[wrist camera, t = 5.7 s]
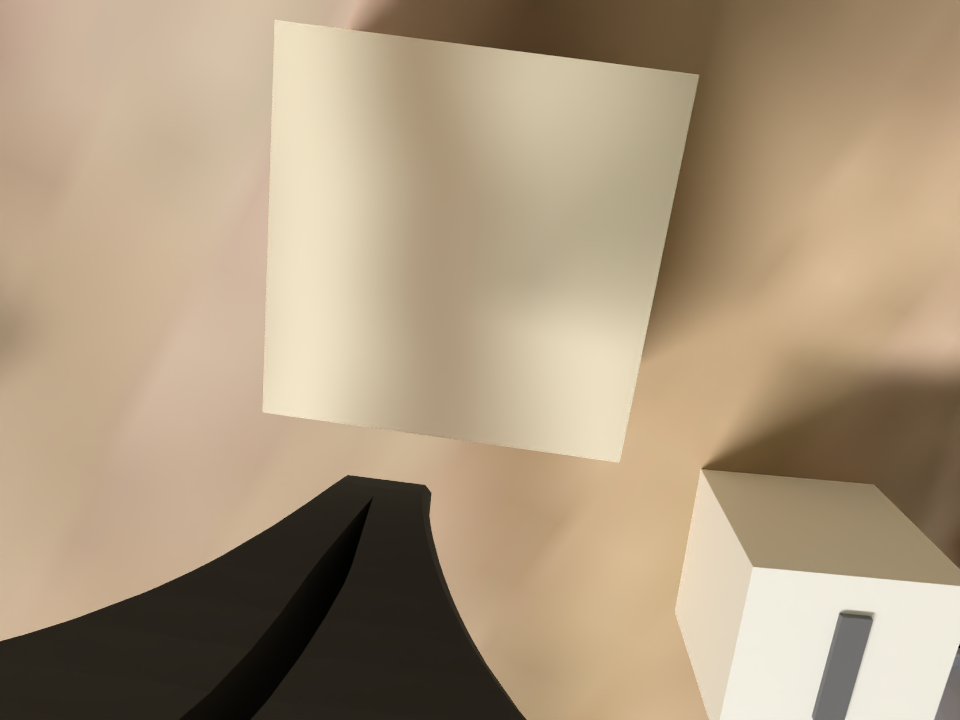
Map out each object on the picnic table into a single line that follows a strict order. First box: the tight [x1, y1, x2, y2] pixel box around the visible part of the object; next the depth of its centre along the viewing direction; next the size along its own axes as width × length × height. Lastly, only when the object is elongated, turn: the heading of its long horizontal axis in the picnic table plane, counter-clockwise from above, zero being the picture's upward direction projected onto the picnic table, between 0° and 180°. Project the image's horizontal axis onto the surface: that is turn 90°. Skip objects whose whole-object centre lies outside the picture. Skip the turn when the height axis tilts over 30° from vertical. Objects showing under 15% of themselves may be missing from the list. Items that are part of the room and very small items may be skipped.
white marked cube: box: [675, 469, 960, 720], centre depth 19 cm, size 5×5×5 cm
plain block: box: [263, 20, 699, 462], centre depth 17 cm, size 8×8×5 cm
